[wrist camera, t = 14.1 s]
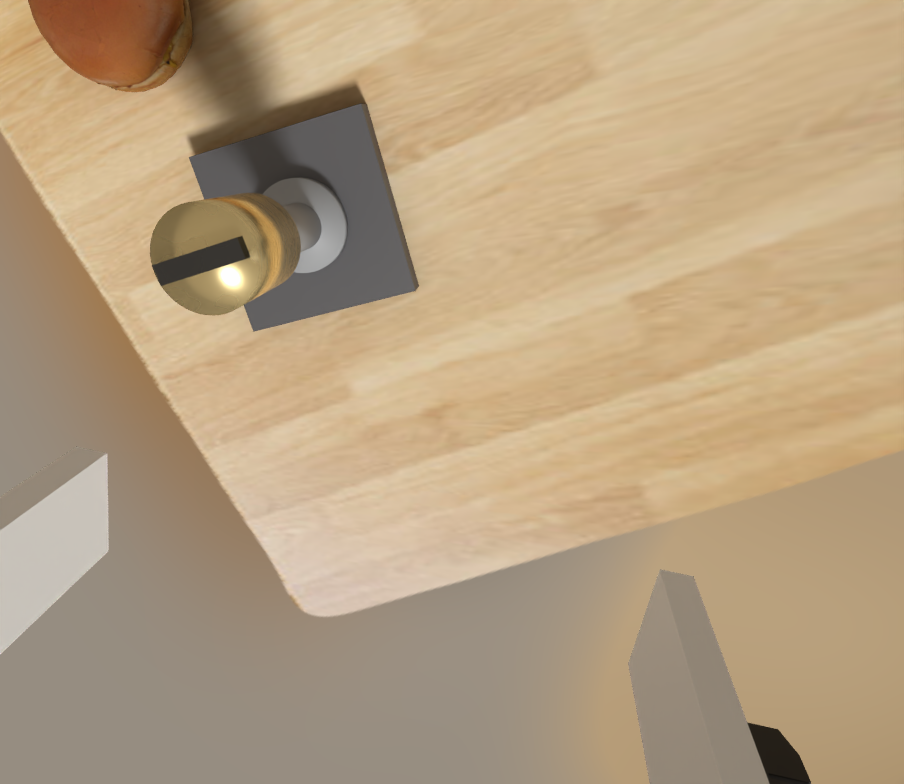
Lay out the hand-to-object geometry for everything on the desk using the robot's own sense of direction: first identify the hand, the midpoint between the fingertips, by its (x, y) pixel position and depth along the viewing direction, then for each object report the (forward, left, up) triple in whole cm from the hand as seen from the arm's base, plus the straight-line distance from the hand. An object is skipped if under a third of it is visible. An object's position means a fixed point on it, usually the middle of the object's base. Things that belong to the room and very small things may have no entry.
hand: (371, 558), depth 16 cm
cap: (+10, -7, -23) cm, 26 cm away
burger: (+17, -23, -33) cm, 44 cm away
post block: (+10, -7, -33) cm, 35 cm away
